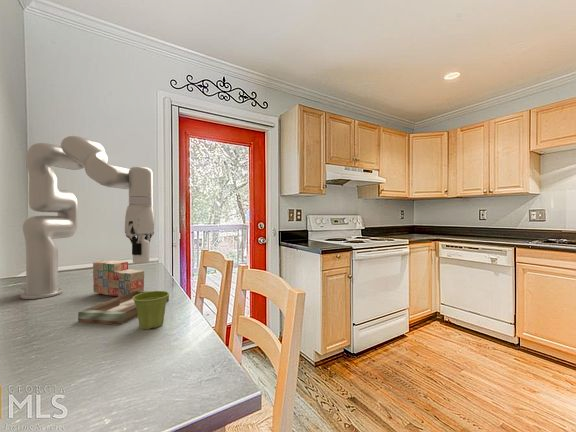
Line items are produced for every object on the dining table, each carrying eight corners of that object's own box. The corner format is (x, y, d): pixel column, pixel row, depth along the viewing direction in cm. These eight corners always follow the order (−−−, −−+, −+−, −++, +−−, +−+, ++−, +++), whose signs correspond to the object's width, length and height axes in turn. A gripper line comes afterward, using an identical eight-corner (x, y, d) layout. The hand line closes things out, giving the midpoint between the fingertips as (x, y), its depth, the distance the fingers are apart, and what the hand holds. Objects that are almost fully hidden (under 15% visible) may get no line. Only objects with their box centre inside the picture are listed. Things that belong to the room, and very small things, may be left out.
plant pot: (155, 333, 74) (155, 300, 74) (124, 330, 76) (124, 298, 76) (175, 320, 83) (175, 291, 84) (148, 318, 85) (148, 290, 85)
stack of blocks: (144, 294, 109) (144, 262, 109) (129, 298, 103) (129, 265, 103) (108, 288, 117) (108, 259, 117) (92, 292, 112) (92, 261, 112)
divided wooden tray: (78, 322, 82) (78, 311, 82) (134, 298, 106) (134, 290, 106) (120, 324, 80) (120, 314, 80) (168, 300, 104) (168, 292, 104)
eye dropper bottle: (144, 261, 103) (144, 228, 103) (150, 262, 99) (150, 228, 99) (131, 262, 100) (131, 228, 100) (136, 264, 96) (136, 229, 96)
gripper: (146, 203, 108) (146, 251, 108) (113, 201, 92) (113, 257, 92) (164, 203, 107) (164, 251, 107) (134, 201, 91) (134, 257, 90)
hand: (140, 253), depth 99 cm, fingers closed on eye dropper bottle, 3 cm apart
